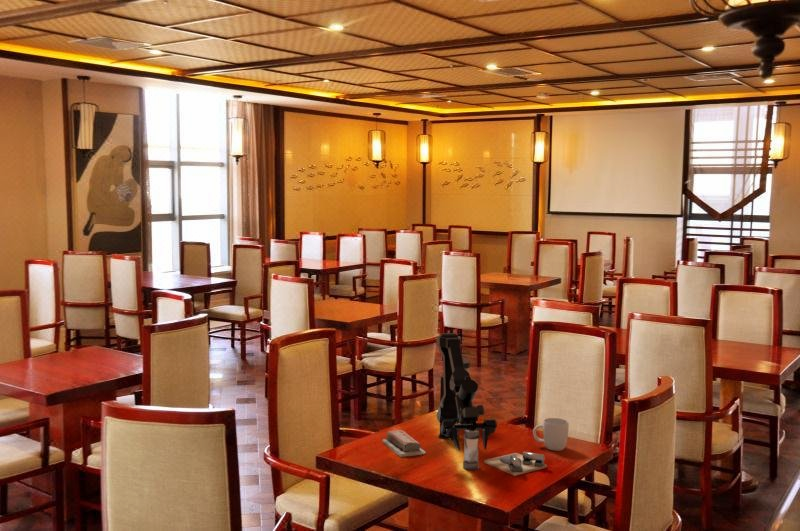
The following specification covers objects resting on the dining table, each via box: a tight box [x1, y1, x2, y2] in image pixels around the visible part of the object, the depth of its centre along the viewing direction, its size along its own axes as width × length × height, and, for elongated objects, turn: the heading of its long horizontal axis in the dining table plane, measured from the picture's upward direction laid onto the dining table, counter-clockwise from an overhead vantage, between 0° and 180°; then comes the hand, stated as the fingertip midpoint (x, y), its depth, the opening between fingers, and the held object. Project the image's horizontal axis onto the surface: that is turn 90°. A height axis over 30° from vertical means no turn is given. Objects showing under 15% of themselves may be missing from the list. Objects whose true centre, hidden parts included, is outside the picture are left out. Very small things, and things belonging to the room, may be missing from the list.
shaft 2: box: [522, 451, 546, 467], centre depth 259 cm, size 7×4×4 cm, turn 67°
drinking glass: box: [462, 428, 481, 472], centre depth 256 cm, size 5×5×13 cm
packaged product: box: [381, 429, 427, 458], centre depth 276 cm, size 18×5×10 cm
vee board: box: [483, 452, 548, 477], centre depth 260 cm, size 15×15×1 cm
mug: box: [532, 417, 570, 452], centre depth 279 cm, size 13×9×10 cm
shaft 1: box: [508, 453, 523, 472], centre depth 254 cm, size 7×4×4 cm, turn 3°
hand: (472, 449), depth 255 cm, fingers open, 9 cm apart
